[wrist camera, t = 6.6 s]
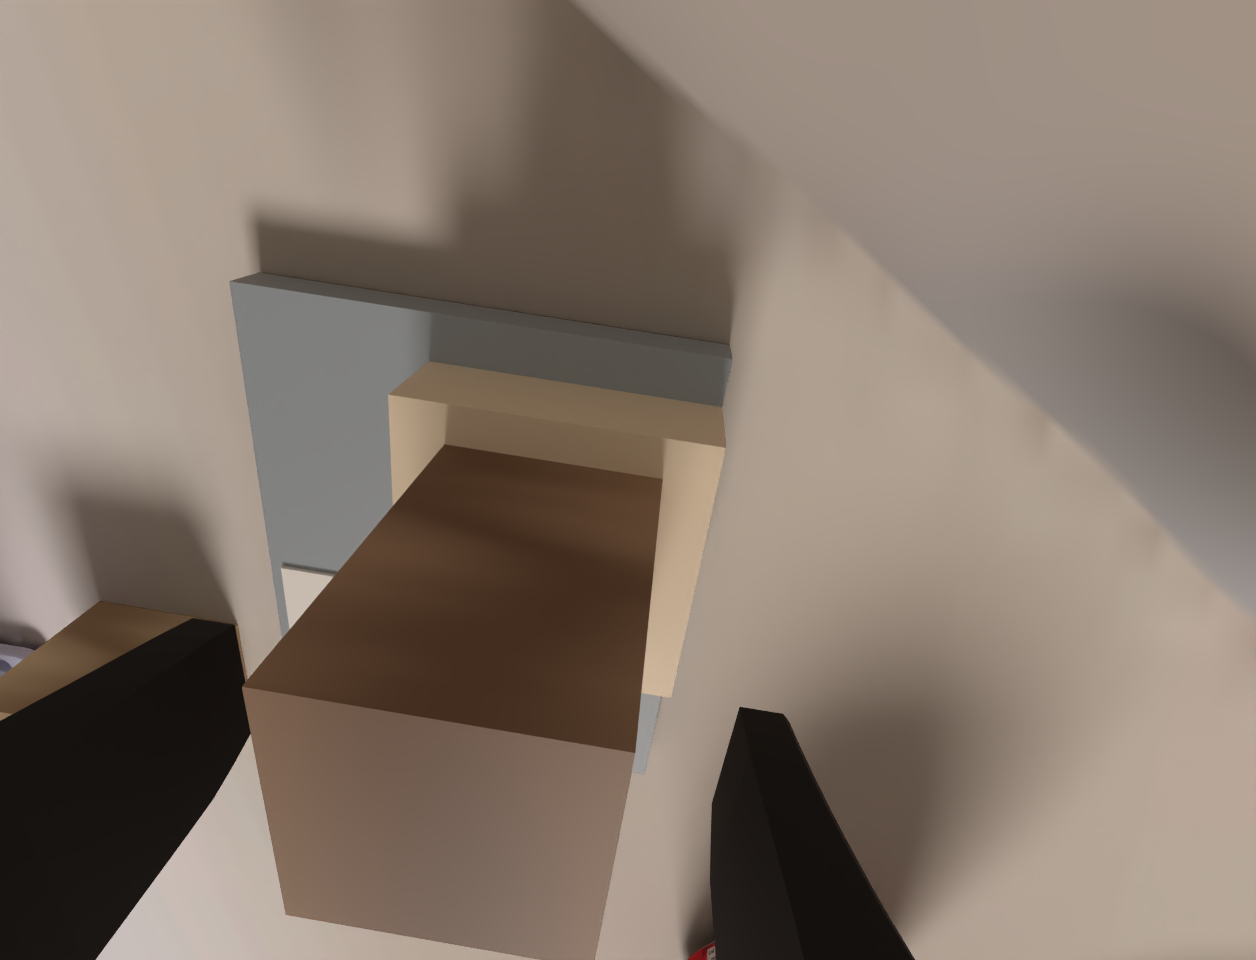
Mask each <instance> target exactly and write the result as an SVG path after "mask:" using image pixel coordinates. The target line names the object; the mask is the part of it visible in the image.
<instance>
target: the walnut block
mask: <svg viewBox="0 0 1256 960" xmlns="http://www.w3.org/2000/svg"><path fill="white" fill-rule="evenodd" d="M662 482H663V479H659V478H653V477H647V476H641V475H634V474H628V473H622V472H615V471H609V470H603V469H597V468H590V467H584V466H578V465H571V464H565V463H559V462H553V461H546V460H540V459H534V458H527V457H521V456H515V455H509V454H502V453H496V452H490V451H483V450H477V449H471V448H465V447H458V446H452V445H446V444H444V445H443V447H442V448H441V449H440V450H439V451H438V453H437V454H436V455H435V456H434V457H433V459H432V460H431V461H430V462H429V463H428V465H427V466H426V467H425V468H424V469H423V471H422V472H421V473H420V474H419V475H418V476H417V478H416V479H415V480H414V481H413V482H412V484H411V485H410V486H409V487H408V488H407V490H406V491H405V492H404V493H403V494H402V496H401V497H400V498H399V499H398V500H397V502H396V503H395V504H394V505H393V506H392V508H391V509H390V510H389V511H388V512H387V514H386V515H385V516H384V517H383V518H382V520H381V521H380V522H379V523H378V524H377V526H376V527H375V528H374V529H373V530H372V532H371V533H370V534H369V535H368V536H367V538H366V539H365V540H364V541H363V542H362V544H361V545H360V546H359V547H358V548H357V549H356V551H355V552H354V553H353V554H352V555H351V557H350V558H349V559H348V560H347V561H346V563H345V564H344V565H343V566H342V567H341V569H340V570H339V571H338V572H337V573H336V575H335V576H334V577H333V578H332V579H331V581H330V582H329V583H328V584H327V585H326V587H325V588H324V589H323V590H322V591H321V593H320V594H319V595H318V596H317V597H316V599H315V600H314V601H313V602H312V603H311V605H310V606H309V607H308V608H307V609H306V611H305V612H304V613H303V614H302V615H301V617H300V618H299V619H298V620H297V621H296V622H295V624H294V625H293V626H292V627H291V628H290V630H289V631H288V632H287V633H286V634H285V636H284V637H283V638H282V639H281V640H280V642H279V643H278V644H277V645H276V646H275V648H274V649H273V650H272V651H271V652H270V654H269V655H268V656H267V657H266V658H265V660H264V661H263V662H262V663H261V664H260V666H259V667H258V668H257V669H256V670H255V672H254V673H253V674H252V675H251V676H250V678H249V679H248V680H247V681H246V682H245V684H244V685H243V686H242V690H243V696H244V701H245V706H246V711H247V716H248V722H249V727H250V732H251V737H252V742H253V747H254V753H255V758H256V763H257V768H258V773H259V778H260V784H261V789H262V794H263V799H264V804H265V809H266V815H267V820H268V825H269V830H270V835H271V840H272V846H273V851H274V856H275V861H276V866H277V872H278V877H279V882H280V887H281V892H282V897H283V903H284V908H285V913H286V915H290V916H296V917H301V918H307V919H313V920H318V921H324V922H330V923H335V924H341V925H347V926H352V927H358V928H364V929H369V930H375V931H381V932H386V933H392V934H398V935H403V936H409V937H415V938H420V939H426V940H432V941H438V942H443V943H449V944H455V945H460V946H466V947H472V948H477V949H483V950H489V951H494V952H500V953H506V954H511V955H517V956H523V957H528V958H534V959H540V960H595V956H596V951H597V946H598V941H599V936H600V931H601V926H602V920H603V915H604V910H605V905H606V900H607V895H608V890H609V885H610V880H611V875H612V869H613V864H614V859H615V854H616V849H617V844H618V839H619V834H620V829H621V824H622V818H623V813H624V808H625V803H626V798H627V793H628V788H629V783H630V778H631V773H632V768H633V762H634V757H635V751H636V741H637V731H638V721H639V711H640V702H641V692H642V682H643V672H644V662H645V652H646V642H647V632H648V622H649V612H650V602H651V592H652V582H653V572H654V562H655V552H656V542H657V532H658V522H659V512H660V502H661V492H662Z"/></svg>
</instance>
